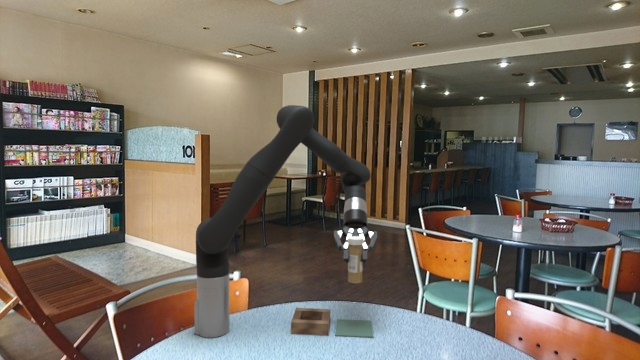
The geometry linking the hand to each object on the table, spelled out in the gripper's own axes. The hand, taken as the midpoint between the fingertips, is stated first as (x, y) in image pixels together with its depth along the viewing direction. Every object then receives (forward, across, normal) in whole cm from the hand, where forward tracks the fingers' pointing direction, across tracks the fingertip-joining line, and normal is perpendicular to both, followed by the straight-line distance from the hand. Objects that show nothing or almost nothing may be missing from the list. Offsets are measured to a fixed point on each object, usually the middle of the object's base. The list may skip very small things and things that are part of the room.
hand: (355, 261), depth 116 cm
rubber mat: (+14, 0, +16) cm, 21 cm away
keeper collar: (+14, -13, +16) cm, 25 cm away
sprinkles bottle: (+3, 0, +6) cm, 7 cm away
